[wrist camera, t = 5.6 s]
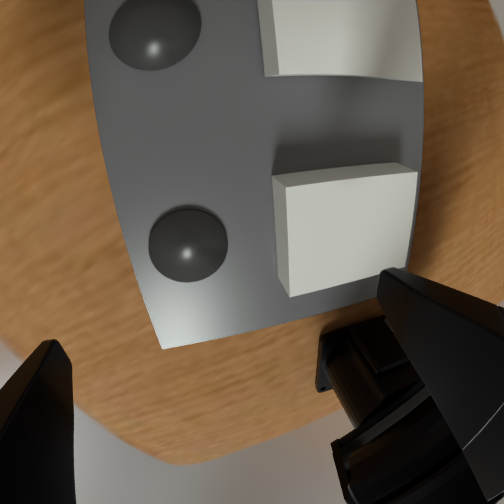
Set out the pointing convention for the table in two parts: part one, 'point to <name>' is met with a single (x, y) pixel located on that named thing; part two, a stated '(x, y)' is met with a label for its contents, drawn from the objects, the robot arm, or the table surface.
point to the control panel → (225, 157)
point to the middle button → (341, 38)
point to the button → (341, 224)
